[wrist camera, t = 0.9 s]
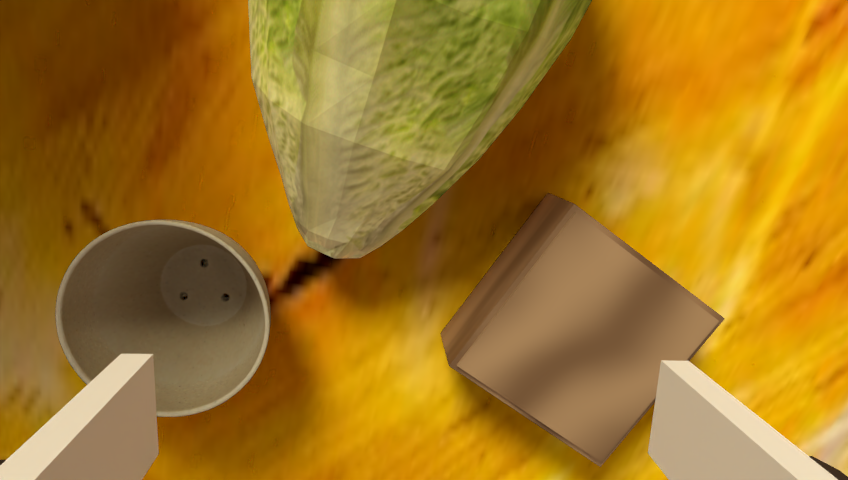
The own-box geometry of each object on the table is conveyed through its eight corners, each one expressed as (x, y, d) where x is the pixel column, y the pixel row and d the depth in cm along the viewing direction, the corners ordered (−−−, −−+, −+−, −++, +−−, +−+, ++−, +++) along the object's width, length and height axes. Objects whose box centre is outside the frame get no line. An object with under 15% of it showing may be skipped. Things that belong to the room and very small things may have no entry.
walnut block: (440, 333, 36) (449, 367, 31) (547, 192, 35) (575, 204, 30) (572, 423, 38) (601, 469, 33) (679, 292, 37) (726, 319, 32)
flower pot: (260, 381, 36) (230, 443, 29) (101, 328, 35) (30, 380, 28) (314, 236, 35) (297, 265, 28) (150, 175, 33) (88, 189, 26)
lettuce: (466, 225, 40) (259, 130, 40) (668, -177, 28) (372, -315, 28) (425, 359, 27) (119, 220, 27) (764, -275, 15) (218, -533, 15)
